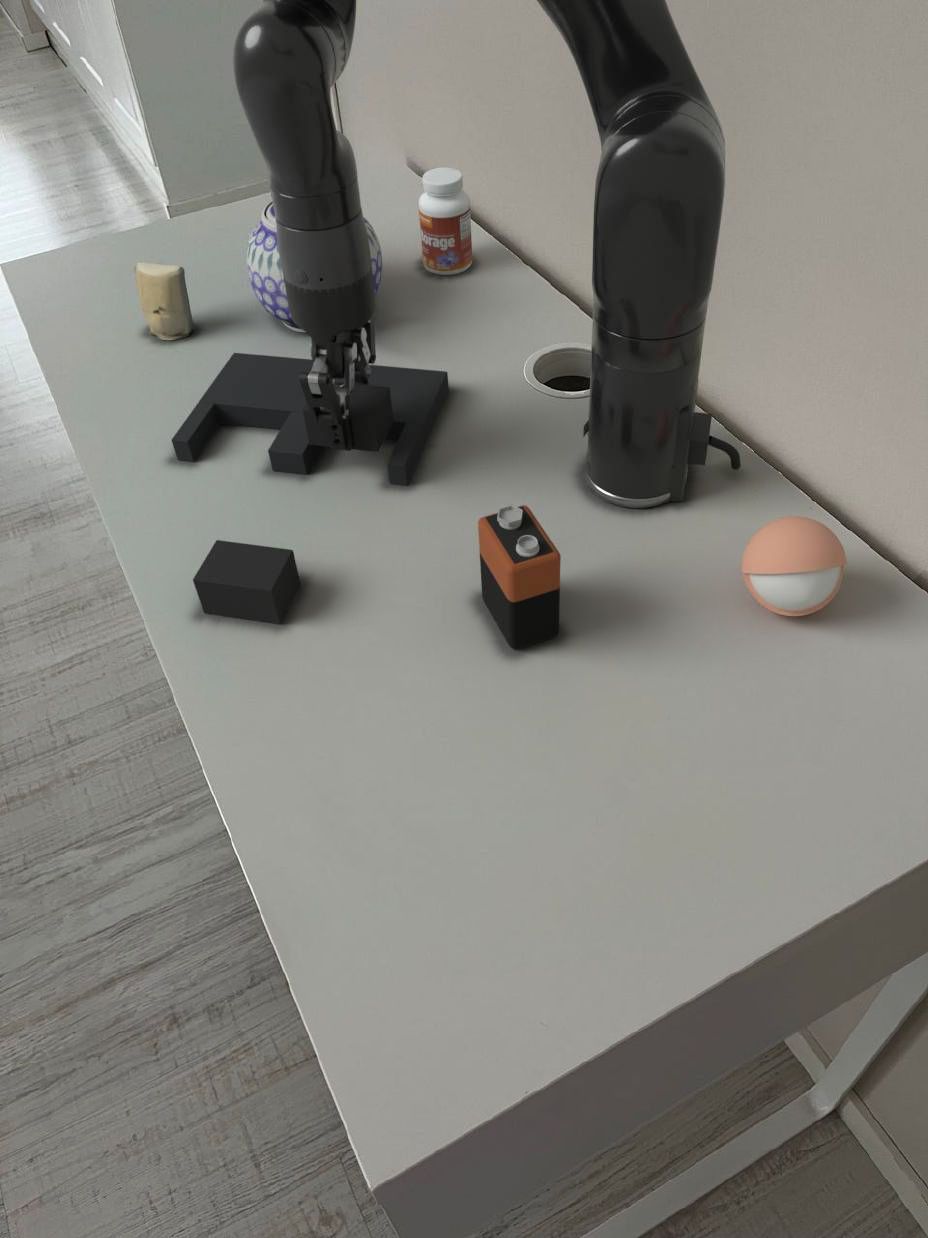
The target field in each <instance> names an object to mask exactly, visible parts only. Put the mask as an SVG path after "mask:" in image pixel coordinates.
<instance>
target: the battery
mask: <svg viewBox="0 0 928 1238" xmlns="http://www.w3.org/2000/svg"><path fill="white" fill-rule="evenodd" d="M477 528H478V529H477V530H478V531H477V532H478V546H479V547H478V549H479V564H480V580H481V581H480V584H481V597H482V601H483V603H484V604H485V606H486V608H487V610H488V611H489V613H490V615H491V616H492V618H493V620H494V622H495V623H496V626H497V627H498V629H499V630H500V632H501V634H502V636H503V638H504V639H505V641H506V643H507V644H508V646H509V647H510V649H512V650H518V649H522V648H524V647H527V646H530V645H533V644H537V643H540V642H543V641H546V640H549V639H552V638H555V637H558V635H559V634H560V611H561V610H560V607H561V605H560V604H561V603H560V601H561V559H562V558H561V557H562V556H561V553H560V552H559V550H558V548H557V547H556V546H555V544H554V542H553V541H552V540H551V538H550V537H549V535H548V534H547V532H546V531H545V530H544V529H545V528H543V527H542V525H541V524H540V522H539V521H538V519H537V518H536V516H535V515H534V513H533V512H532V510H531V509H530V508H529V507H528V505H525V504H524V505H523V504H522V505H519V506H515V505H513V504H509V505H505V506H501V507H499V508H498V510H497V512H495V513H492V514H488V515H484V516H482V517H480V518H478V520H477Z"/></svg>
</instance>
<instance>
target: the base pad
mask: <svg viewBox="0 0 928 1238" xmlns="http://www.w3.org/2000/svg"><path fill="white" fill-rule="evenodd" d="M313 364H314V362H313V360H312V358H311V359H309V358H299V357H298V358H297V357H287V356H278V355H277V356H275V355H264V354H252V353H242V352H241V353H240V352H233V354H232V355H231V356H230V358H229V359H228V360H227V362H226V363H225V364H224V366H223V367H222V368H221V370H220V372H219V373H218V374H217V376H216V377H215V379H214V380H213V381H212V383H211V384H210V385H209V387H208V388H207V390H206V391H205V392H204V394H203V395H202V397H201V398H200V399H199V401H198V402H197V403H196V405H195V406H194V407H193V409H192V410H191V412H190V414H189V415H188V416H187V417H186V419H185V420H184V422H183V423H182V424H181V426H180V427H179V428H178V430H177V432H176V433H174V436H173V437H172V439H171V443H172V446H173V450H174V453H175V455H176V459H177V460H178V461H184V462H191V463H193V462H195V460H196V459H197V458H198V456H199V455H200V453H201V452H202V450H203V449H204V448H205V446H206V445H207V443H208V442H209V440H210V439H211V437H212V436H213V434H214V433H215V432H216V430H217V428H218V427H219V425H220V424H221V425H222V424H223V425H232V426H243V427H251V428H261V429H269V430H270V429H272V430H279V431H278V434H277V435H275V438H274V440H273V441H272V443H271V444H270V446H269V447H268V449H267V452H268V457H269V461H270V465H271V469H272V472H279V473H280V472H281V473H289V474H298V475H308V473H309V472H310V470H311V468H312V466H313V464H314V463H315V461H316V459H317V457H318V455H319V454H320V451H321V450H322V448H323V446H316V445H309V441H308V435H307V430H306V425H305V420H304V415H303V408H304V407H305V405H306V403H307V402H306V399H305V396H304V393H303V390H302V387H301V384H300V373H301V371H310V372H311V369H312V367H313ZM369 365H370V368H371V376H370V379H369V380H368V382H369V385H372V386H383V387H389V388H390V395H391V404H392V412H393V421H394V422H393V424H392V426H391V428H390V430H389V432H388V434H387V437H386V439H385V441H387V442H395V445H394V447H393V450H392V452H391V454H390V456H389V458H388V460H387V461H386V462H387V463H386V466H387V475H388V480H389V481H388V482H389V485H394V486H402V487H403V486H404V487H408V485H409V484H410V482H411V479H412V476H413V474H414V472H415V470H416V468H417V465H418V463H419V460H420V458H421V457H422V454H423V451H424V449H425V447H426V445H427V442H428V440H429V438H430V435H431V434H432V431H433V429H434V428H435V427H434V426H435V424H436V422H437V420H438V418H439V415H440V413H441V411H442V408H443V406H444V404H445V403H446V402H445V401H446V399H447V397H448V395H449V392H450V388H449V387H450V386H449V376H448V375H449V374H448V371H445V370H444V371H443V370H433V369H424V368H423V369H421V368H412V367H410V368H409V367H401V366H389V365H388V366H387V365H376V364H369ZM332 379H334V380H335V382H342V383H344V382H345V378H342V379H338V378H332ZM385 441H384V442H385Z"/></svg>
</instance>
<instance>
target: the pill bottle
mask: <svg viewBox="0 0 928 1238" xmlns="http://www.w3.org/2000/svg"><path fill="white" fill-rule="evenodd" d="M463 187H464V181H463V174H462V171H460V170H458V169H457V168H453V167H436V168H431V169H430V170H427V171H425V173H423V175H422V188H423V191H424V192H423V193H422V194H421V195H420V197H419V199H418V214H419V227H420V242H421V251H422V252H421V253H422V254H421V255H422V263H423V267H424V268H425V269H426V270H427V271H428V272H429V273H432V274H434V275H440V276H451V275H457V274H461V273H464V272H465V271H467V270H468V269H469V268H470V267H471V265H472V263H473V242H472V240H473V239H472V220H471V219H472V217H471V199H470V196H469V194H468V193H467V192H466V191H465V190H464V189H463Z"/></svg>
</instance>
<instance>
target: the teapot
mask: <svg viewBox="0 0 928 1238" xmlns="http://www.w3.org/2000/svg"><path fill="white" fill-rule="evenodd" d="M364 221H365V225H366V229H367V233H368V240H369V248H370V256H371V264H372V273H373V281H374V289H375V296H377V294H378V290H379V288H380V286H381V280H382V274H383V256H382V254H383V253H382V248H381V244H380V240H379V238H378V235H377V234H376V232H375V229H374V227H373V226H372V224H371V223H370V221H368V219H367V218H365V217H364ZM246 268H247V269H246V270H247V274H248V279H249V281H250V284H251V288H252V290H253V293H254V295H255V297H256V299H257V301H259V303H260V305H262V307H263V308H264V309H265V310H266V313H268V314H270V315H272V316H273V317H275V318H276V319H278V320H279V321H281V323H282V324H283V325H284V326H285V327H287V328H288V329H290V330H291V331H294V332H298V333H306V332H305V331H304V330H302V329H301V328H299V327H298V326H297V325H296V324H295V323H294V322H293V320H292V318H291V315H290V309H289V304H288V299H287V293H286V288H285V283H284V278H283V272H282V267H281V261H280V256H279V251H278V245H277V228H276V218H275V213H274V207H273V202H272V201H270V202H269V203H267V204H266V205H265V207H264V208H263V210H262V211H261V221H260V222H259V223H258V224H257V225H255V226H254V228H253V230H252V231H251V234H250V235H249V239H248V242H247V248H246Z"/></svg>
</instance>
